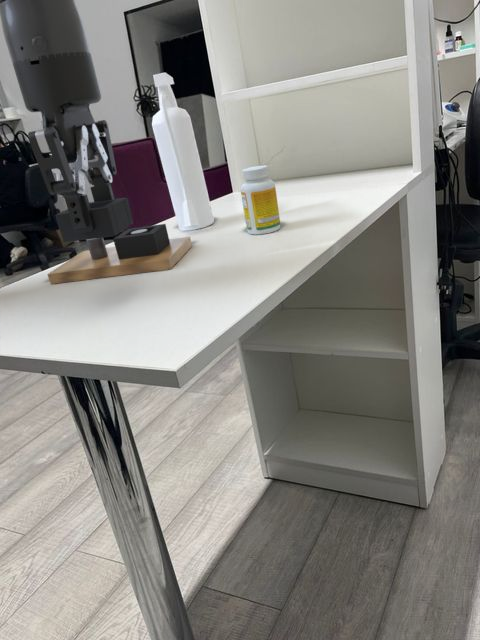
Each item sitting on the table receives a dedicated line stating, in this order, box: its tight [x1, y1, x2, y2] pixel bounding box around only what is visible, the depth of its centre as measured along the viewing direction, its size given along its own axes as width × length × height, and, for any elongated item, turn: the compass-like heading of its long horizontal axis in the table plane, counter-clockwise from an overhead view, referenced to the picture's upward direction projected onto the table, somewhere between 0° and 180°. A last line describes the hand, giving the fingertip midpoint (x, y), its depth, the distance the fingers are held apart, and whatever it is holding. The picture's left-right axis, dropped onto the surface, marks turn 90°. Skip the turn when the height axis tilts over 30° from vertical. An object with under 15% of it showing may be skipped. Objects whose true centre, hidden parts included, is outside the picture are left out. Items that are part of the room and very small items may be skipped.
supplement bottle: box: [240, 165, 281, 236], centre depth 84 cm, size 5×5×10 cm
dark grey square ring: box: [55, 197, 134, 243], centre depth 60 cm, size 6×6×3 cm
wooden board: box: [47, 229, 193, 285], centre depth 79 cm, size 18×12×4 cm, turn 83°
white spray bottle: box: [151, 72, 215, 232], centre depth 92 cm, size 7×12×25 cm, turn 178°
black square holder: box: [112, 223, 170, 259], centre depth 78 cm, size 6×6×3 cm
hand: (97, 223), depth 60 cm, fingers closed on dark grey square ring, 6 cm apart
